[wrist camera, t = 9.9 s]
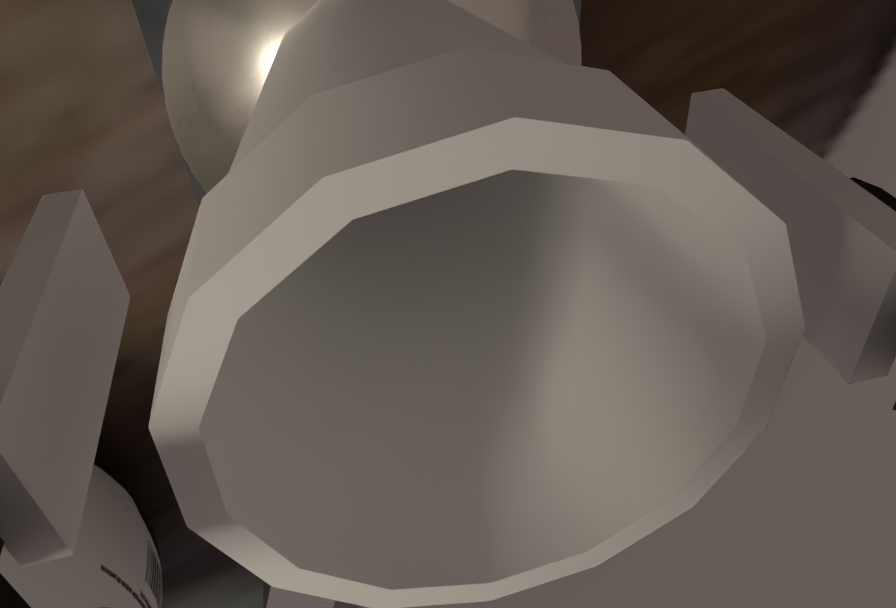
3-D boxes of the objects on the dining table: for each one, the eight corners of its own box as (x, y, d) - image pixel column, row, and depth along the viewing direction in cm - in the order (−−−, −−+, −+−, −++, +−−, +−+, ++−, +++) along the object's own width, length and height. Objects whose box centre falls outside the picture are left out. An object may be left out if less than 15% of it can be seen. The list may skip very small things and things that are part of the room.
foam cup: (398, -178, 17) (612, -83, 6) (595, 100, 22) (880, 391, 12) (136, 95, 19) (-7, 473, 9) (370, 285, 24) (447, 657, 14)
